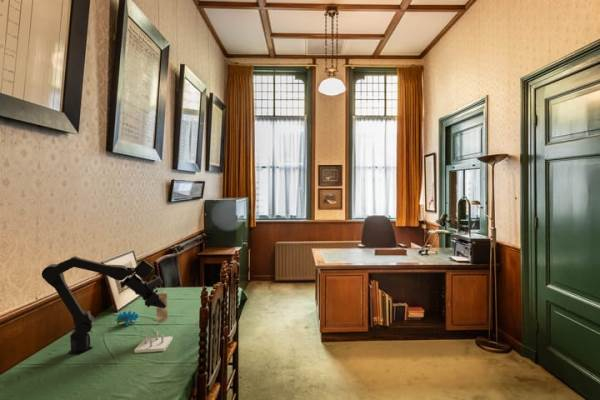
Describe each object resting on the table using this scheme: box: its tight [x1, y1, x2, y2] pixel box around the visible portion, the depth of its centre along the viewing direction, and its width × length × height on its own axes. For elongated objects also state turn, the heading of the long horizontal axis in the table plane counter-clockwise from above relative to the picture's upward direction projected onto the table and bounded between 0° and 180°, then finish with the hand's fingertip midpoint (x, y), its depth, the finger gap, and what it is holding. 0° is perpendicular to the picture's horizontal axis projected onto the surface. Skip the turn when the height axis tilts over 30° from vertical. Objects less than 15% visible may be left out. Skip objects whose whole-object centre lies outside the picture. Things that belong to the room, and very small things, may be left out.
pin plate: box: [134, 332, 174, 354], centre depth 147 cm, size 12×12×4 cm
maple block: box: [156, 290, 169, 324], centre depth 159 cm, size 4×4×13 cm
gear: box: [114, 310, 139, 328], centre depth 173 cm, size 11×6×10 cm
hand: (164, 305), depth 160 cm, fingers closed on maple block, 4 cm apart
